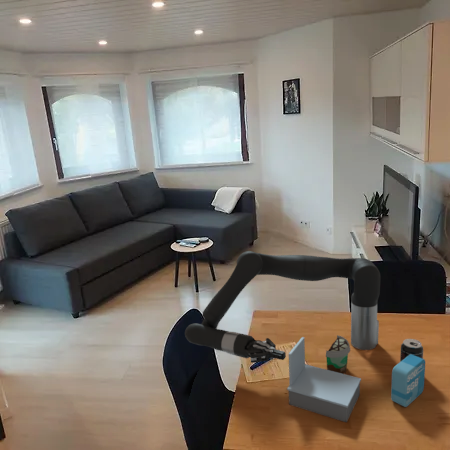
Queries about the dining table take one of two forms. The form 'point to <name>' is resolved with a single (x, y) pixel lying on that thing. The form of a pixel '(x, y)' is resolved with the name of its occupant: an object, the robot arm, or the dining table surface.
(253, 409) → the dining table surface
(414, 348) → the beverage can
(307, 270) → the robot arm
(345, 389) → the lid
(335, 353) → the food container
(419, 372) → the data package
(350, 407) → the box
